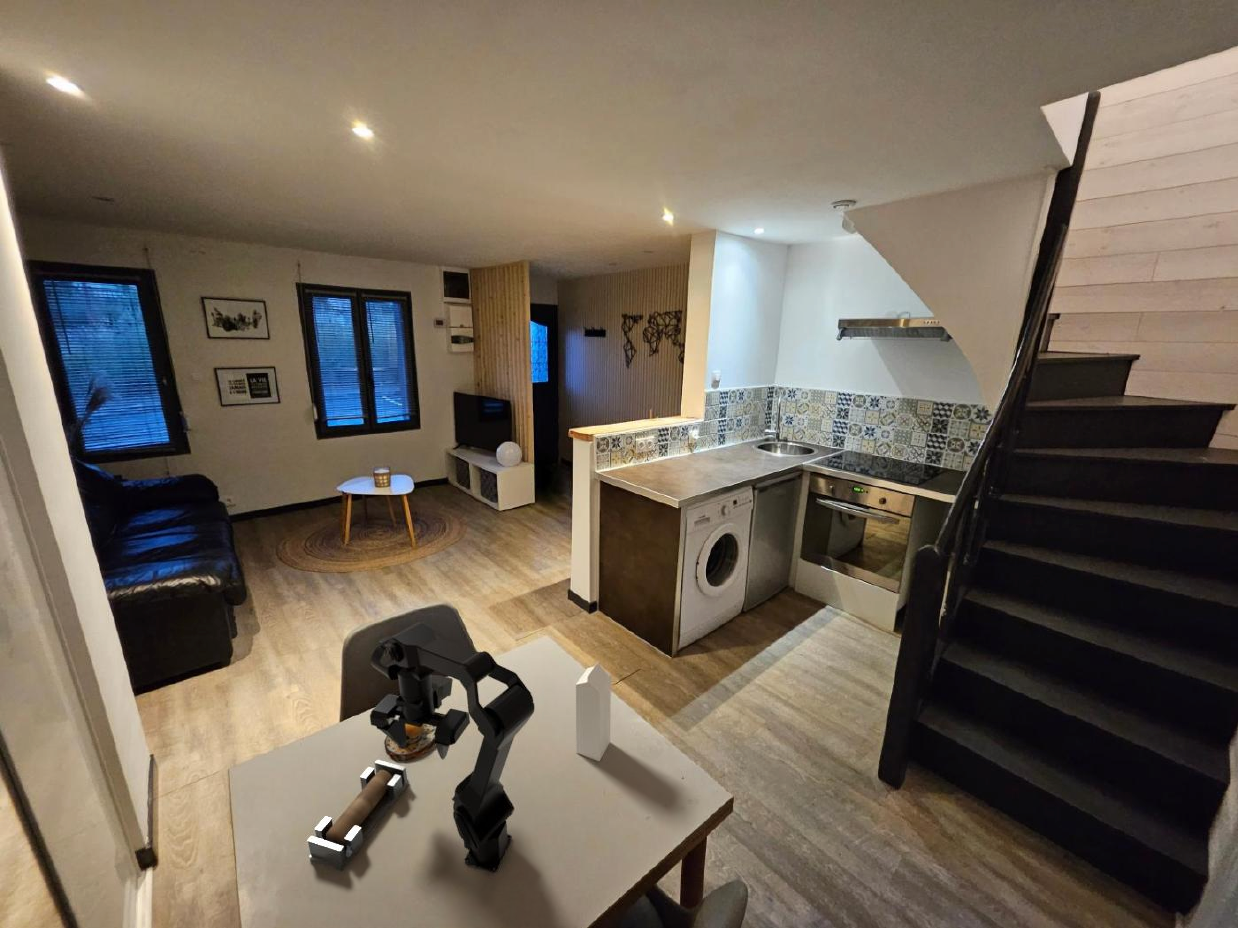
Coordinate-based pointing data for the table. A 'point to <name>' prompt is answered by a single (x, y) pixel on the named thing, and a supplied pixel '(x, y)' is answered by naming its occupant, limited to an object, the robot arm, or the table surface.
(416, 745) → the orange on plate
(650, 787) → the table surface
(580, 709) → the milk
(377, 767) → the cradle
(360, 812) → the cylinder
